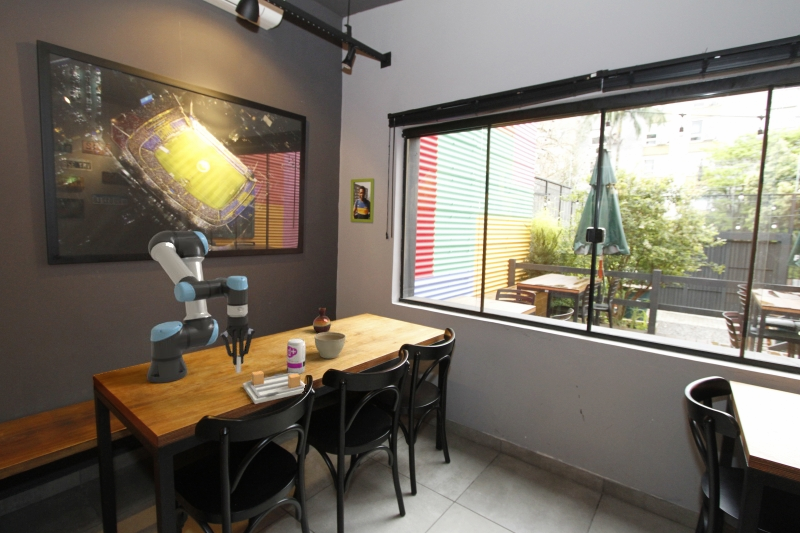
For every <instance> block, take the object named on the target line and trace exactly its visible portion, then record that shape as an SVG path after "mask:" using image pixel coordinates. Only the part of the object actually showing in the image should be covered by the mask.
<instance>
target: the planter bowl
mask: <svg viewBox="0 0 800 533" xmlns="http://www.w3.org/2000/svg"><path fill="white" fill-rule="evenodd" d="M345 341H346V334H344V333H341V332H335V331H328V332H323V333H316V334H315V335H314V344H315V348H316V350H317V352H318V353H319V354H320V355H319V356H320V357H321V358H323V359H335V358H338V357H339V354H340V353H341V352H342V350H343V348H344V346H345Z"/></svg>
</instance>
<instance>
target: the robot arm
mask: <svg viewBox="0 0 800 533" xmlns="http://www.w3.org/2000/svg"><path fill="white" fill-rule="evenodd" d="M147 247H148V249H147V250H148V253H149V256H151V258H152V259H153V260H154V261H156V262H158V263H159V264H160V266H161V267H162V269H163V270H164V271H165V273H166V274H167V275H168V277H169V278H170V280H171V281H172V283H173V284H174V285H175V286H174V289H173V293H174V296H175V299H176V301H177V302H180V303H185V314H186V316H185V317H184V318H183V323H182V322H181V321H178V320H174V321H166V322H162V323H160V324H156V325H155V326H153V327H152V329H151V330H150V348H151V349H150V352H151V355H150V356H151V361H150V365H149V367H148V370H147V374H146V380H147V382H150V383H154V384H156V383H157V384H161V383H171V382H175V381H178V380H181V379H183V378H184V377H186V376H187V374H188V367H187V365H186V362H185V359H184V357H183V351H186V350H191V349H194V348H200V347H205V346H209V345H212V344H214V343H215V342H216V341H217V338H218V336H219V334H220V337H221V338H222V340H223V343H224V347H225V349H226V354H227V355H228V356H229V357H231V358H232V364H233V366H235V368H234V369H235V372H236V374H241V373H242V365H243V364H244V357H245V355H248V354H249V351H250V347H251V343H252V338H253V336H254V334H255V333H256V331H255V330H254V329H252V328H250V327H249V316H248V313H249V312H248V310H249V308H248V300H249V296H248V294H249V291H248V290H249V289H248V288H249V285H248V278H247V276H245V275H231V276H228V277H227V278H226V277H217V278H215V279H208V280H207V279H206V280H205V279H204V273H203V265H202V264H203V263H202V262H203V261H204V260H205V256H206V255H208V253H209V243H208V240H207V237H206V236H205V234H203V232H202V231H195V230H194V231H193V230H163V231H160V232H158V233H155V235H153V237H152V238H151V239H150V240H149V242H148V246H147ZM218 298H226V304H227V307H226V308H227V315H228V316H227V317H226V318H227V325H226V326H227V327H226V329H225V331H224V332H221V333H219V324H218V321H217V320H216V319H214V318H212V315H211V314H210V313H209V312H208V307H207V306H208V305H207V300H210V299H218ZM246 335H247V336H246ZM228 336H230V337H231V342H232V343H231V345H232V347H231V345H230V342H229V340H228ZM245 336H246V339H245ZM244 339H245V341H244ZM244 342H245V343H244ZM238 351H239V352H238Z"/></svg>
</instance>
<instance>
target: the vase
mask: <svg viewBox="0 0 800 533" xmlns="http://www.w3.org/2000/svg"><path fill="white" fill-rule="evenodd" d="M326 310H327V309H326V307H319V308H318V313H319V315H318V316H317V317H316V318H315V319H314V320H313V323H312V326H313V331H314V332H315V333H316V334H319V333H323V332H330V329H331V326H332V324H331V320H330V318H329V317H328V316H326Z"/></svg>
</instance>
